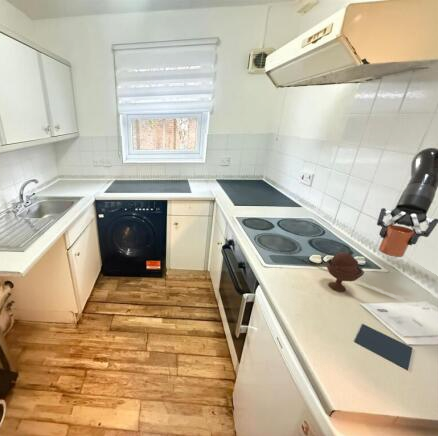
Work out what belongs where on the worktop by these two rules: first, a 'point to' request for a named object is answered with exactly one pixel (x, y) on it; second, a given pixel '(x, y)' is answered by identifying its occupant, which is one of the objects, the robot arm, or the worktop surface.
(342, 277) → the ice cream bowl
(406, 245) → the terracotta cup
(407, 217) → the robot arm
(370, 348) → the place mat
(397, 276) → the worktop surface
